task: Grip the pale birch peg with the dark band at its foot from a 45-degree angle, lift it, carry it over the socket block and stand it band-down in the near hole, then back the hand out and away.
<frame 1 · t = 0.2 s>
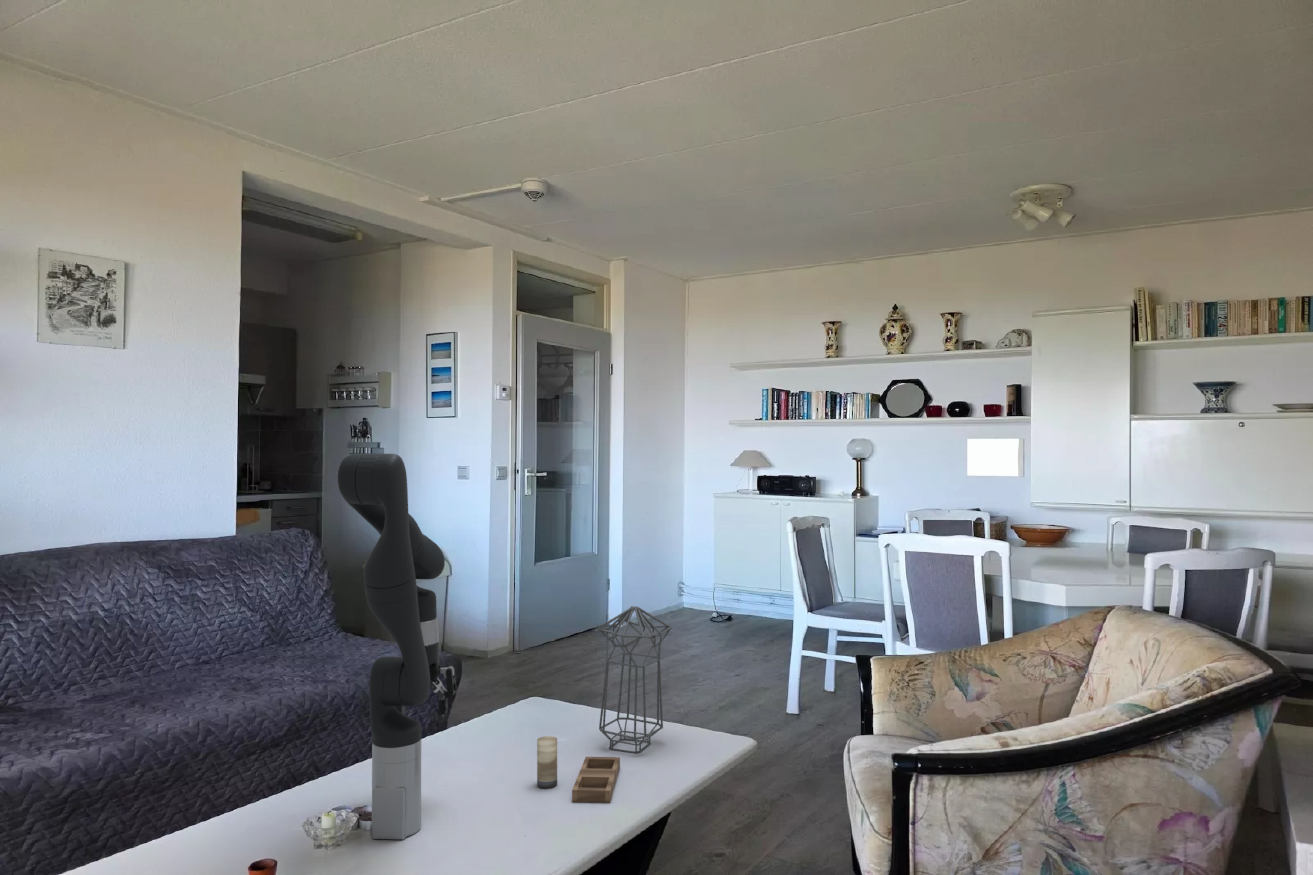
hand: (422, 716, 180), 18 cm above the table, tool pointing down, fingers open, 8 cm apart
banded peg: (547, 785, 189), on the table
socket block: (597, 784, 189), on the table
geometric lantern: (634, 747, 213), on the table
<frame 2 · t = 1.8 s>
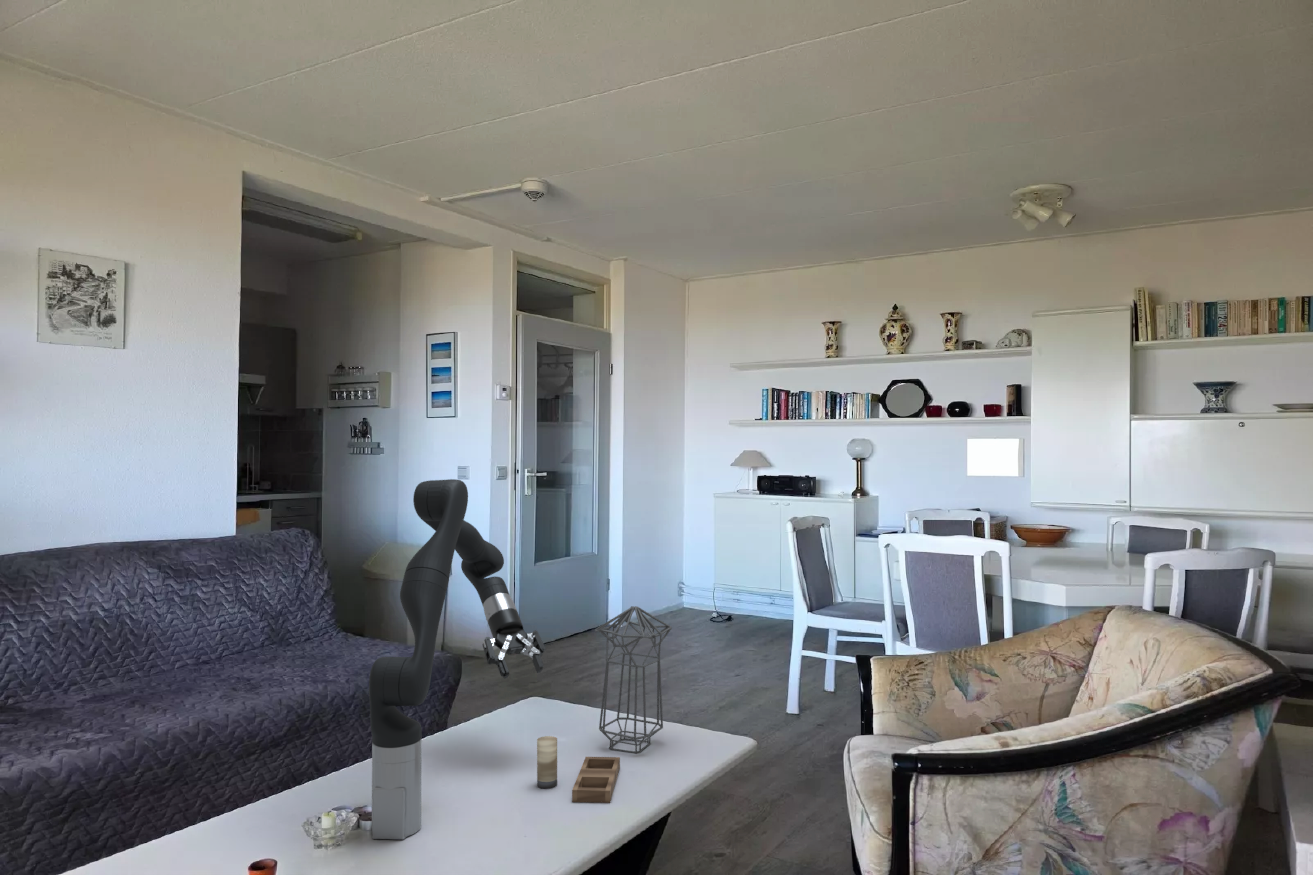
hand: (523, 673, 199), 22 cm above the table, tool tilted 45°, fingers open, 8 cm apart
nothing on the table moved.
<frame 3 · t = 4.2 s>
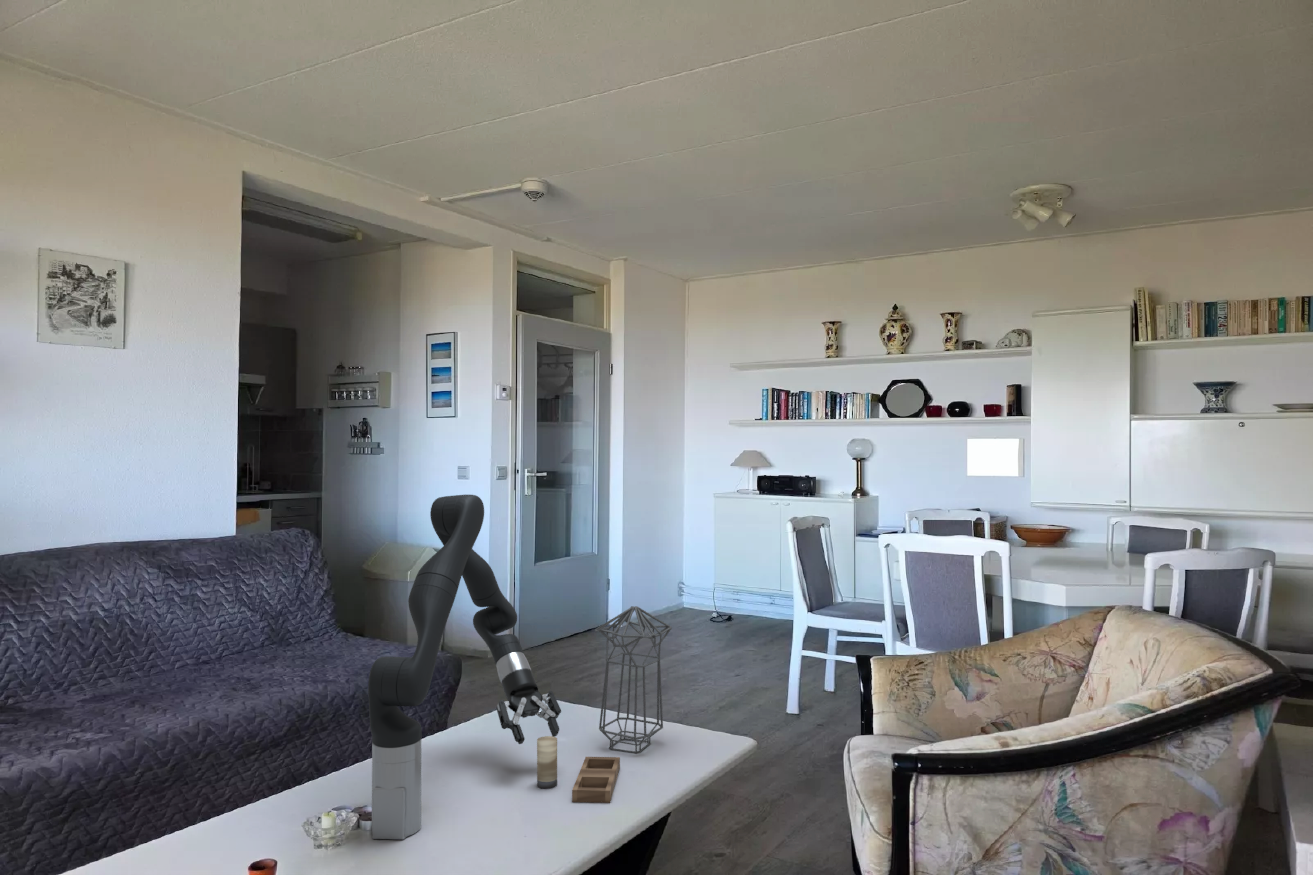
hand: (539, 738, 192), 9 cm above the table, tool tilted 45°, fingers open, 8 cm apart
nothing on the table moved.
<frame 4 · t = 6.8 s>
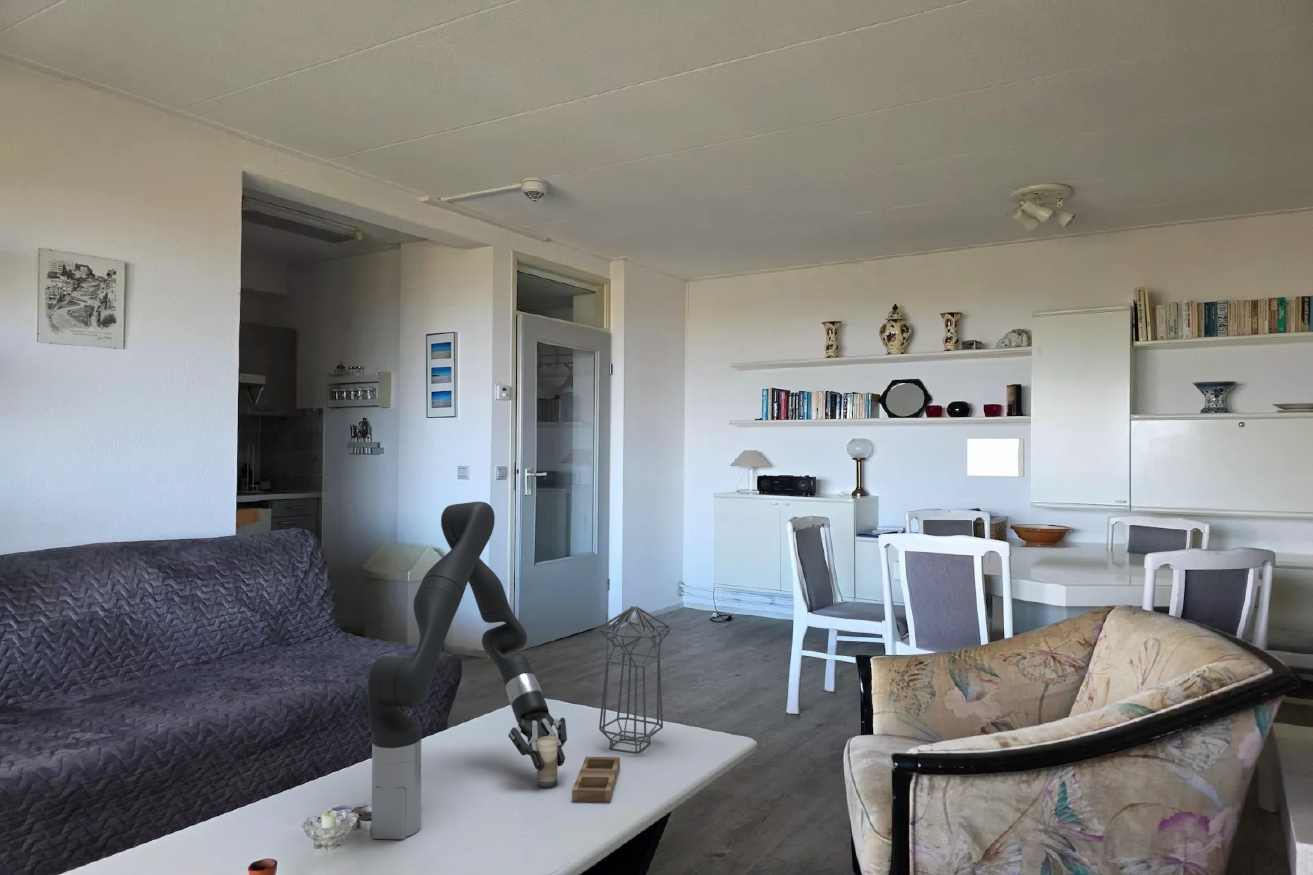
hand: (551, 766, 187), 5 cm above the table, tool tilted 45°, fingers closed on banded peg, 4 cm apart
banded peg: (547, 784, 189), on the table, touching gripper
everything else where it was.
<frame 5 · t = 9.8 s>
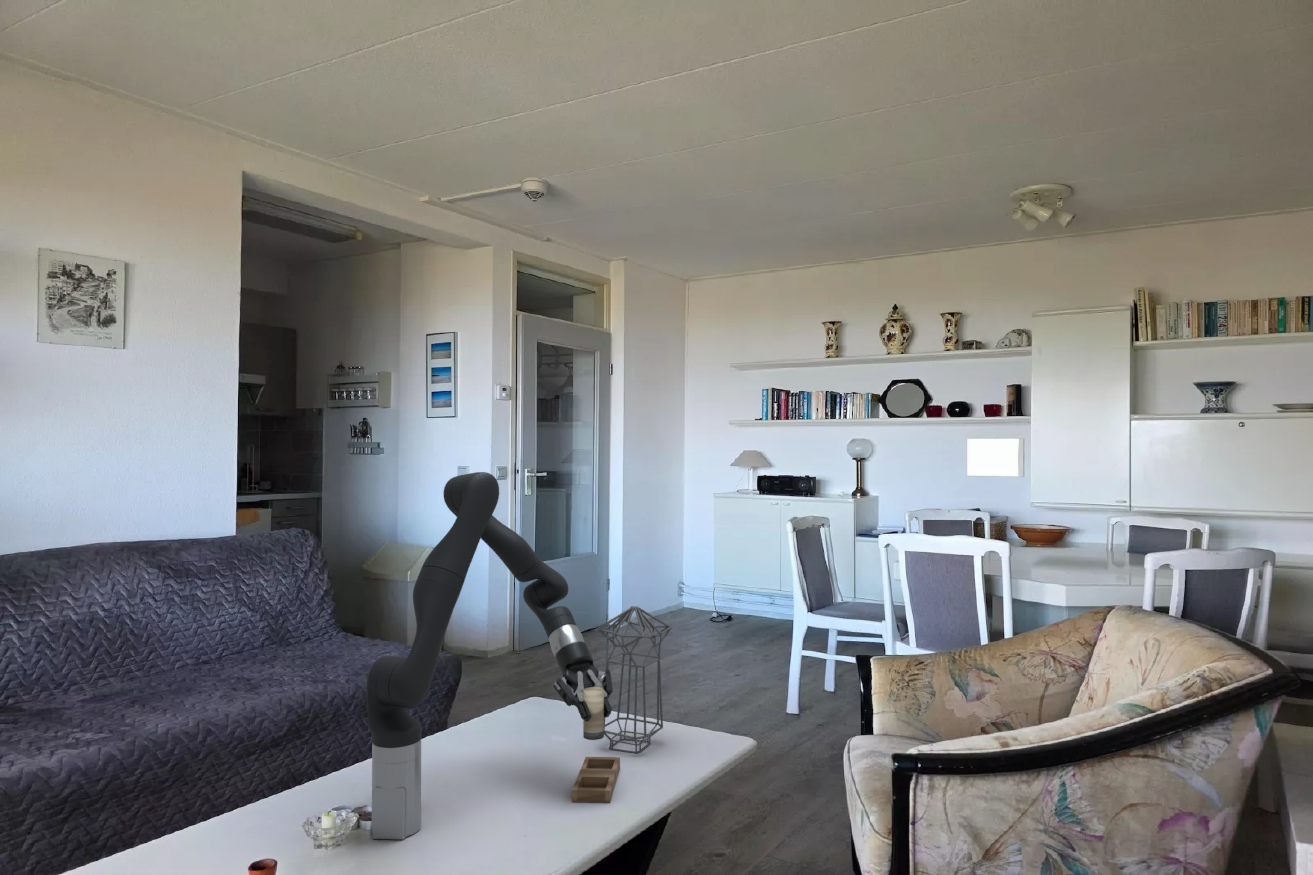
hand: (598, 717, 182), 17 cm above the table, tool tilted 45°, fingers closed on banded peg, 4 cm apart
banded peg: (593, 736, 184), point 12 cm above the table, touching gripper
everything else where it was.
when the fingers open (6 cm above the table, at t = 13.0 s): banded peg drops 1 cm, resting in socket block.
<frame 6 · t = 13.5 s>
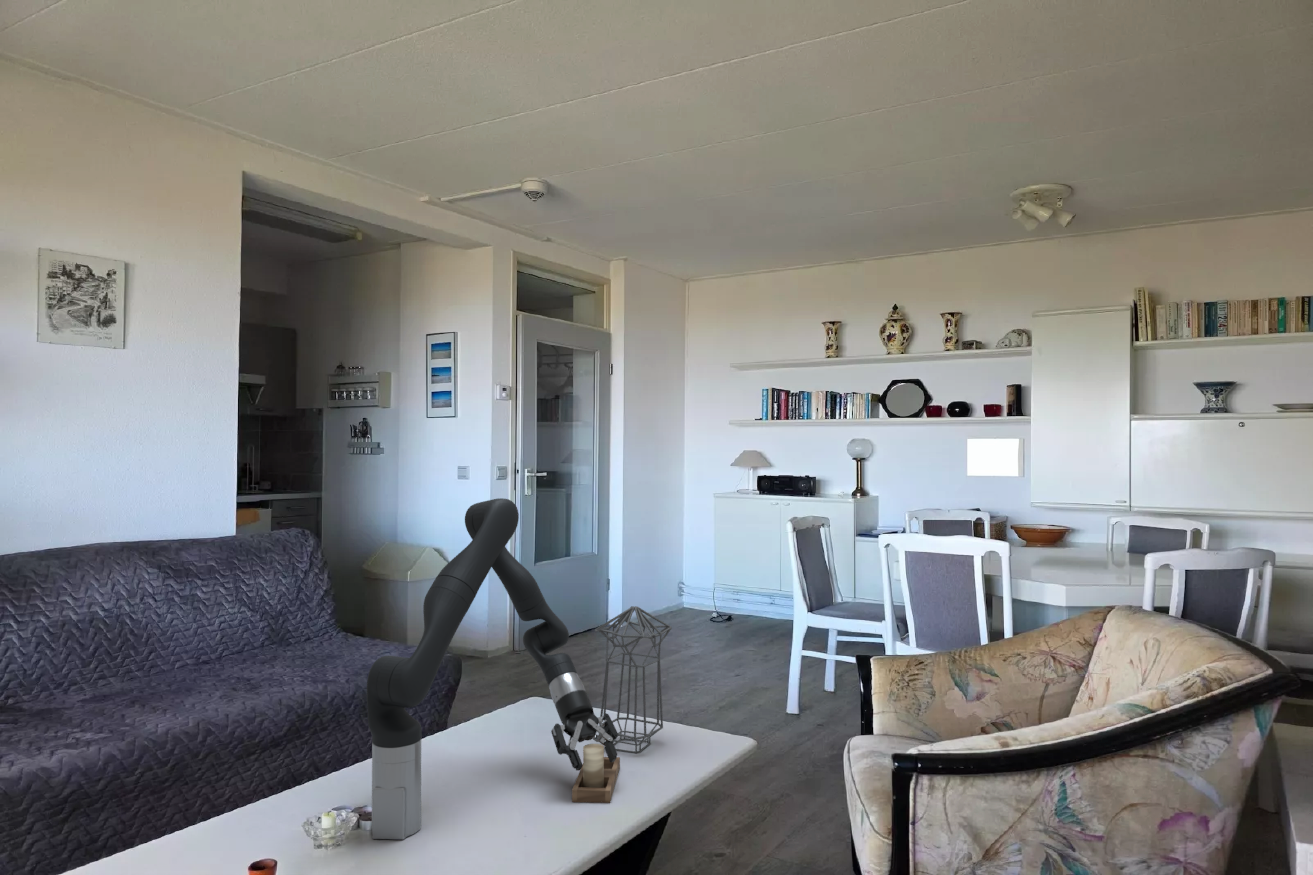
hand: (597, 764, 182), 7 cm above the table, tool tilted 45°, fingers open, 8 cm apart
banded peg: (593, 794, 183), resting in socket block
everything else where it was.
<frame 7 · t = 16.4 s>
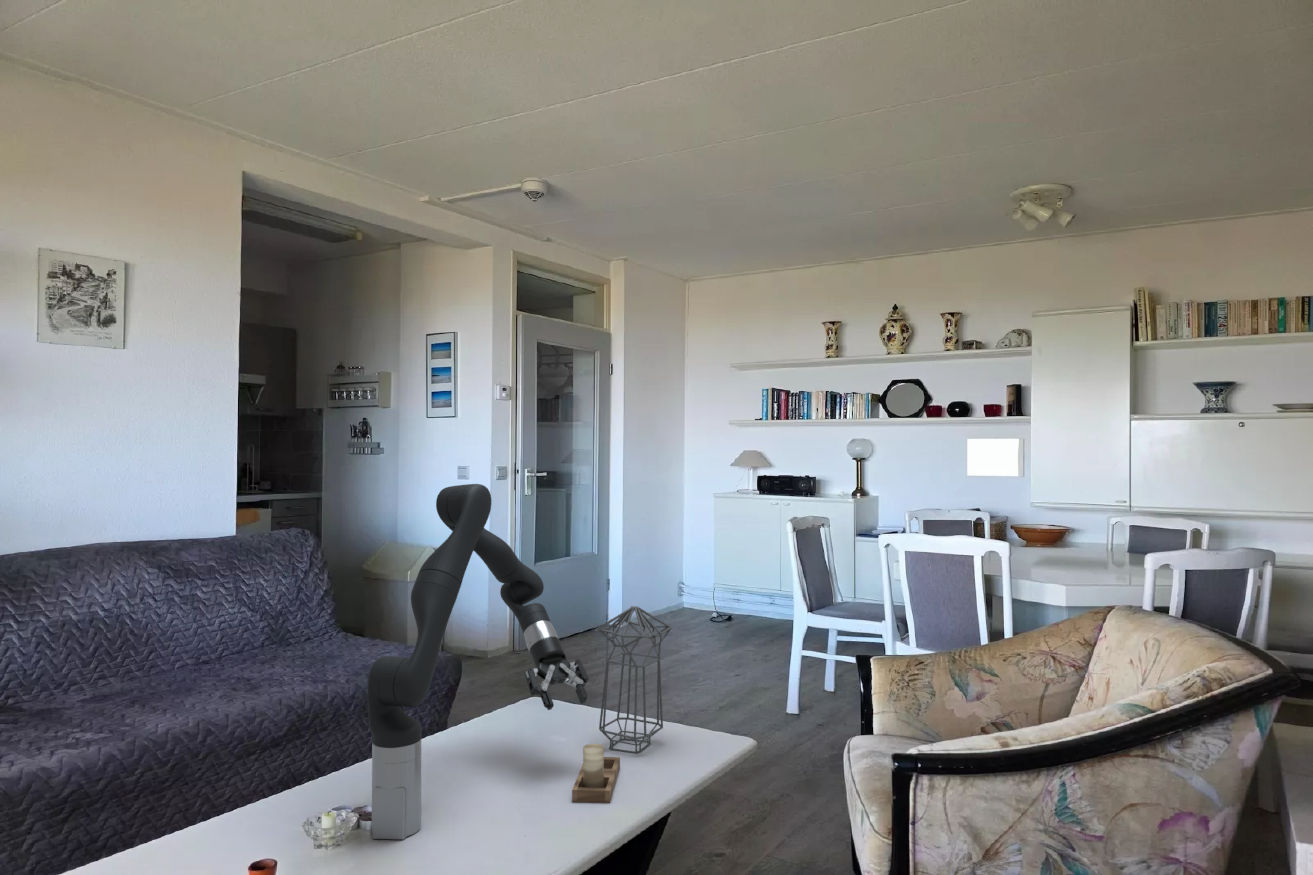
hand: (567, 704, 193), 16 cm above the table, tool tilted 45°, fingers open, 8 cm apart
nothing on the table moved.
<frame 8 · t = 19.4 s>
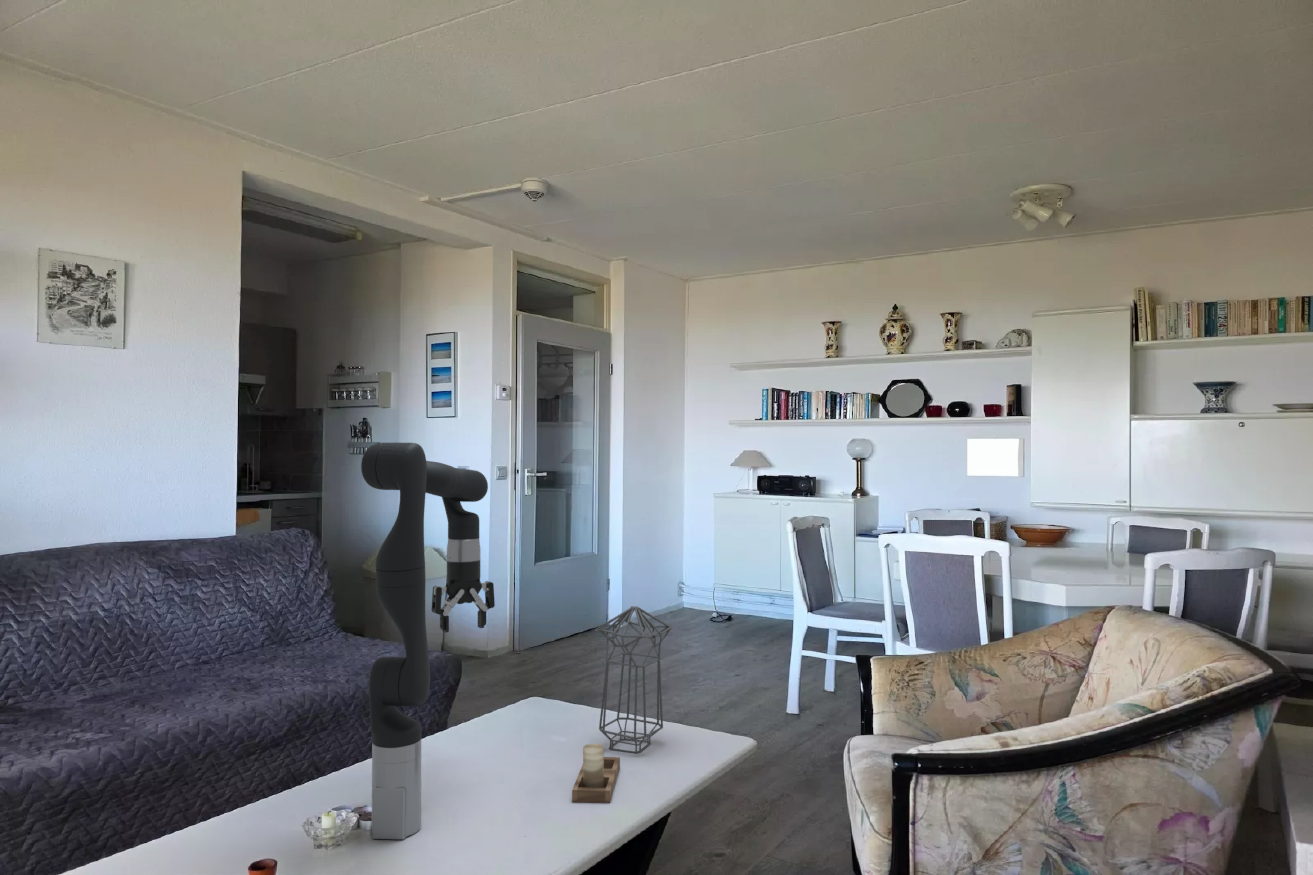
hand: (463, 629, 195), 33 cm above the table, tool pointing down, fingers open, 8 cm apart
nothing on the table moved.
at the end: banded peg 0.1 cm from the target spot on the socket block, point 0.0 cm above the socket block's base; banded peg tilted 0°; the gripper is holding nothing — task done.
